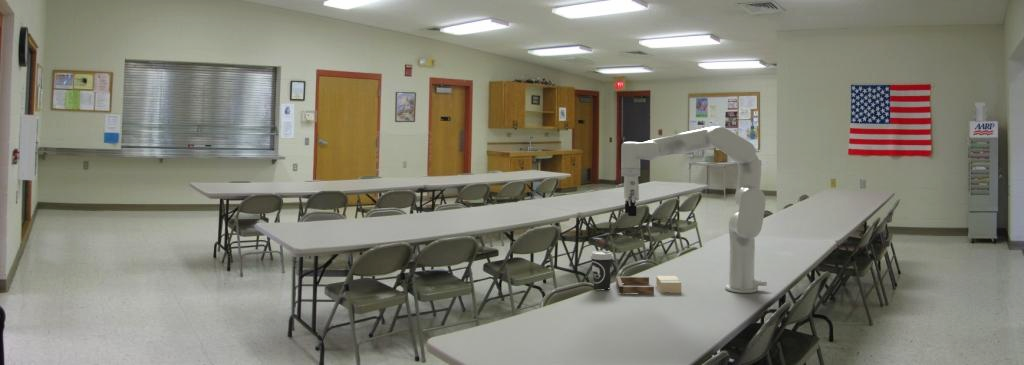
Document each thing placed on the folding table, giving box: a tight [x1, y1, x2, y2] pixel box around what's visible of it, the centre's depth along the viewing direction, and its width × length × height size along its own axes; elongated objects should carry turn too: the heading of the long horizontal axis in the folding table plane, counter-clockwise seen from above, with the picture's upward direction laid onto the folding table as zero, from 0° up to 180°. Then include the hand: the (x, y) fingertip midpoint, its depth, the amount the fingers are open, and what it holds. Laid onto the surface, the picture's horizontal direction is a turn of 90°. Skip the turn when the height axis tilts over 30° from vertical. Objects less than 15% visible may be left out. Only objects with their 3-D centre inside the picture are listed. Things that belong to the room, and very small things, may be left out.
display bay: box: [615, 275, 655, 295], centre depth 269 cm, size 14×18×3 cm
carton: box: [655, 275, 682, 294], centre depth 268 cm, size 8×12×5 cm
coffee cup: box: [589, 250, 614, 291], centre depth 270 cm, size 10×10×15 cm
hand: (630, 214), depth 267 cm, fingers open, 9 cm apart
